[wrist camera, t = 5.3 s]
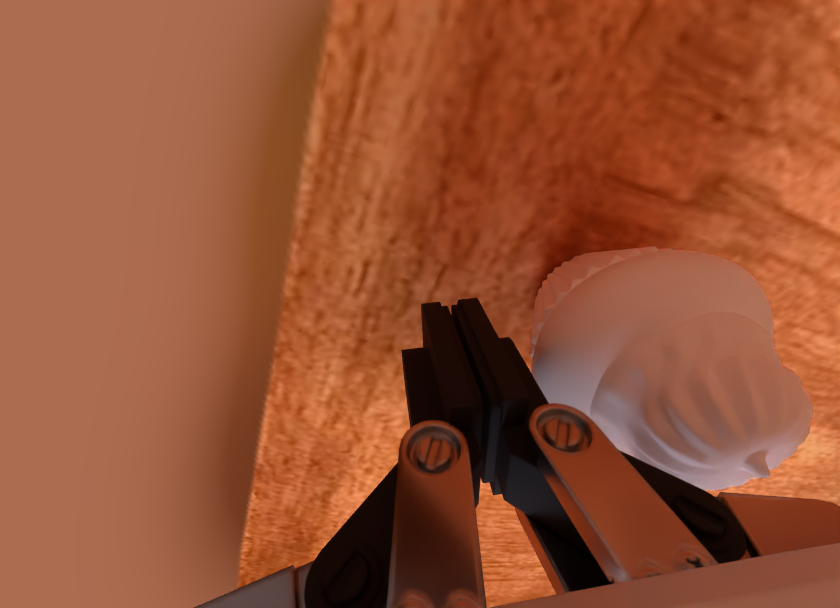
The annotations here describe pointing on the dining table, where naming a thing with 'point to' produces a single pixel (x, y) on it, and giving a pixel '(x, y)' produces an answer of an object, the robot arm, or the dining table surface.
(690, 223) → the dining table surface
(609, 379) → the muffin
